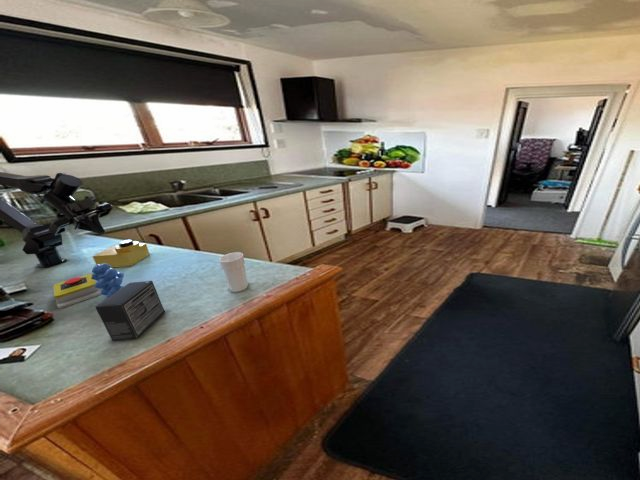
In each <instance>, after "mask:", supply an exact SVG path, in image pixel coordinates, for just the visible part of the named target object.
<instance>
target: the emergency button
mask: <svg viewBox="0 0 640 480" xmlns="http://www.w3.org/2000/svg"><path fill="white" fill-rule="evenodd" d="M92 274H93V273H87V274H85V275H81V276H80V275H79V276H77V277H76V276H75V277H72V278H70V279H67V280H63V281H60V282H57V283H55V284H53V297H54V299H55V302H56V307H57V309H63V308H66V307H68V306H72V305H74V304H77V303H80V302H83V301H86V300H89V299H92V298H96V297H98V296H100V295H102V294H101V291H102V290H101V289H99V288H96V287H95V284H96V282H97V281H98V280H94V279H91V276H92Z"/></svg>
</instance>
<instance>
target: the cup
mask: <svg viewBox="0 0 640 480" xmlns="http://www.w3.org/2000/svg"><path fill="white" fill-rule="evenodd" d="M244 256H245V255H244V254H243V252H240V251H235V252H229V253H226V254H223V255H221V256H220V257H219V258H218V259H219V264H220V266H221V270H222V271H223V273H224V276H225V280H226V282H227V285H228V288H229V291H231V292H232V293H237V292H241V291H244V290H246V289H247V288H248V287H249V283H248V278H247V277H248V276H247V271H246V266H245V265H246V264H245V263H246V262H245V257H244Z"/></svg>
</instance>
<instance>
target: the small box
mask: <svg viewBox="0 0 640 480" xmlns="http://www.w3.org/2000/svg"><path fill="white" fill-rule="evenodd" d="M94 309H95V310H96V311H97V313H98V315H99V318H100V319H101V322H102V323H103V326H104V327H105V329H106V331H107V333H108V335H109V337H110V340H111V341H113V342H116V341H127V340H138V339H139V338H140V337H141V336H142V335H143V334H144V333H145V332H146V331H147V330H148V329H149V328H151V326H153V325H154V323H155V322H157V320H158V319H160V317H162V316H163V315H164V314H165V313H166V310H165V308H164V306H163V304H162V301H161V298H160V297H159V294H158V292H157V288H156V287H155V284H154V282H153V280H145V281H143V280H142V281H135V282H133V281H132V282H129V283H127V284H126V285H123V288H121V289H120V290H118V291H117V292H116V293H114V294H113V295H111V296H110V297H107V298H105V299H103V300H102V301H101V302H99V303H98V304H96V305H95V306H94Z"/></svg>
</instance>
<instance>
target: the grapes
mask: <svg viewBox="0 0 640 480" xmlns="http://www.w3.org/2000/svg"><path fill="white" fill-rule="evenodd" d="M91 274H92V276H91V279H94V280H97V282H96V284H95V287H96V288H99V289H100V291H101V294H100V295H102V296H106V297H107V298H108V297H110V296H111V295H113V294H114V293H116V292H117V291H118V290H120V289H121V288H123V287H124V285H122V284H123V281H124V276H125V273H123V272H120V271H119V270H118V269H115V268H112V267H111V265H108V264H100V265H96V264H95V265H94V266H93V268H92V270H91Z"/></svg>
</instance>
